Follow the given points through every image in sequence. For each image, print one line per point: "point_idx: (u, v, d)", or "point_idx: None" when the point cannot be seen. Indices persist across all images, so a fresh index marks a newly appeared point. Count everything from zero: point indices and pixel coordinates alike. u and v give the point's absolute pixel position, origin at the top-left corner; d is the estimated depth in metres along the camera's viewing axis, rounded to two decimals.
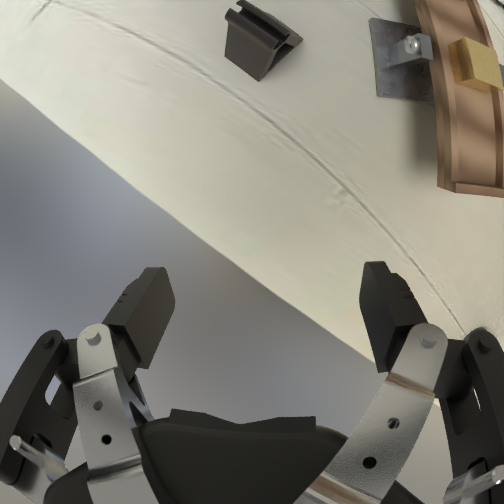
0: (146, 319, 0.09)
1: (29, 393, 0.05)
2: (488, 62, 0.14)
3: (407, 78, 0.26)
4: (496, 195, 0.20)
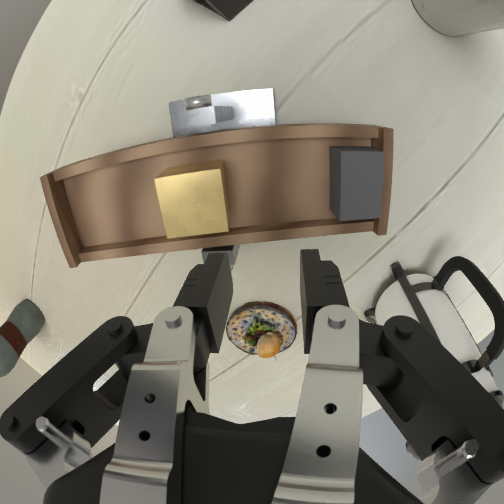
0: (218, 302, 0.09)
1: (74, 380, 0.05)
2: (195, 210, 0.20)
3: None
4: (60, 241, 0.22)
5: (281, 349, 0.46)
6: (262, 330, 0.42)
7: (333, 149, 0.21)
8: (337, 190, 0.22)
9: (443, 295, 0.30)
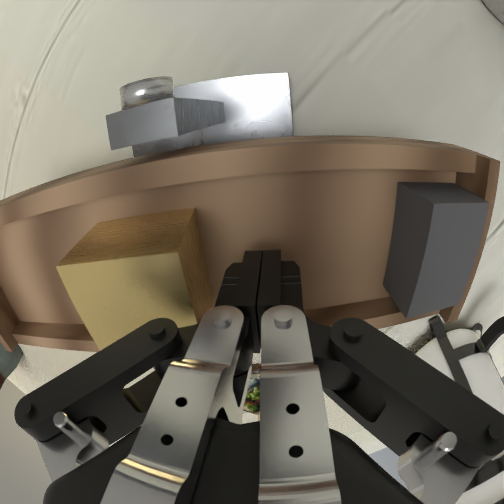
0: None
1: (103, 381, 0.06)
2: None
3: (168, 146, 0.18)
4: None
5: None
6: None
7: (410, 191, 0.10)
8: (410, 267, 0.11)
9: (487, 358, 0.19)
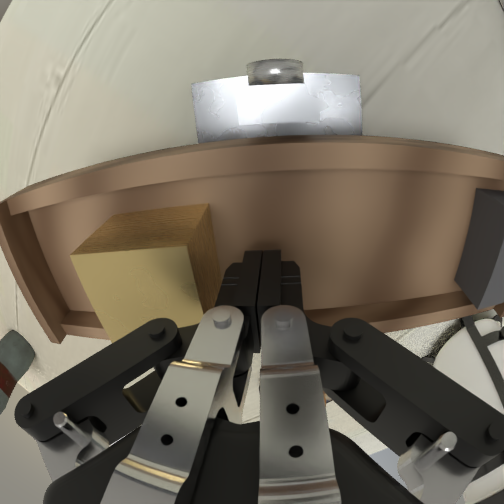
0: None
1: (103, 381, 0.05)
2: (148, 316, 0.10)
3: (239, 134, 0.18)
4: (31, 307, 0.13)
5: None
6: None
7: (488, 197, 0.10)
8: (485, 263, 0.10)
9: None
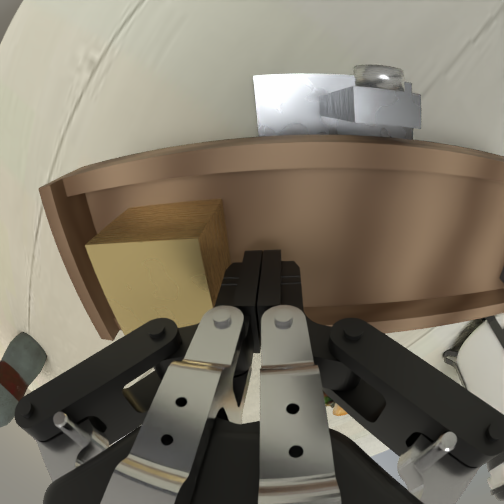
0: None
1: (103, 381, 0.05)
2: (159, 306, 0.10)
3: (301, 131, 0.18)
4: (82, 301, 0.13)
5: None
6: None
7: None
8: None
9: None
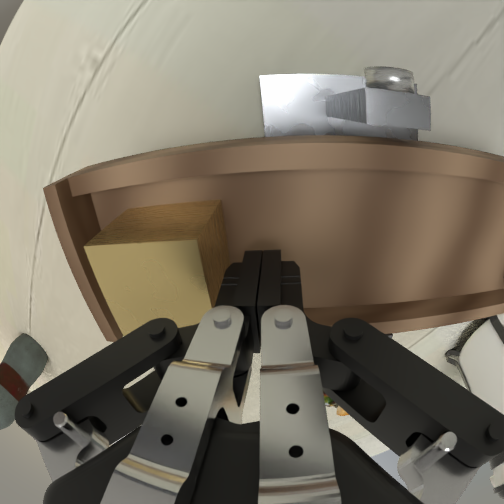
0: None
1: (103, 381, 0.06)
2: (158, 307, 0.10)
3: (308, 131, 0.18)
4: (88, 302, 0.13)
5: None
6: None
7: None
8: None
9: None
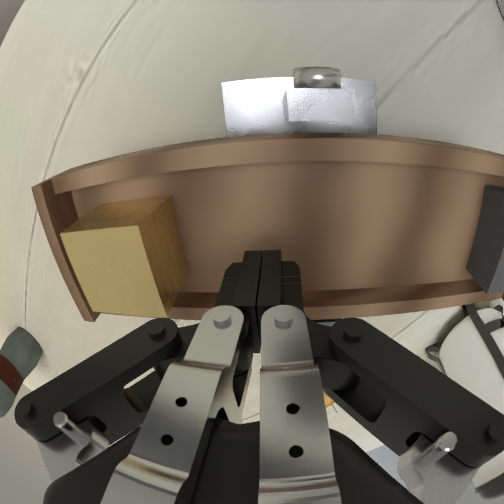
0: None
1: (103, 381, 0.06)
2: (116, 283, 0.12)
3: (266, 131, 0.20)
4: (68, 285, 0.15)
5: None
6: None
7: (495, 192, 0.10)
8: (493, 251, 0.11)
9: None
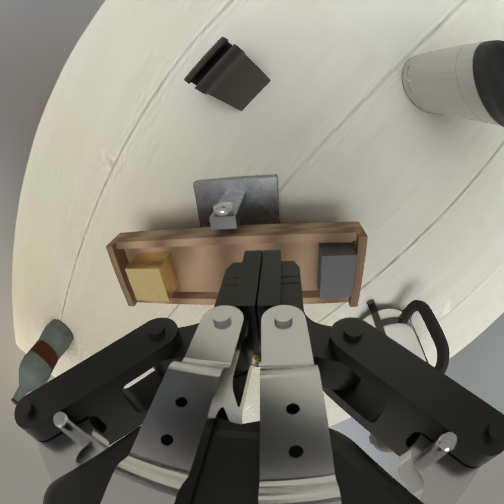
0: None
1: (103, 381, 0.06)
2: (149, 288, 0.33)
3: None
4: (122, 289, 0.35)
5: None
6: None
7: (320, 248, 0.31)
8: (319, 277, 0.32)
9: (406, 327, 0.41)
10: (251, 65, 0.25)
